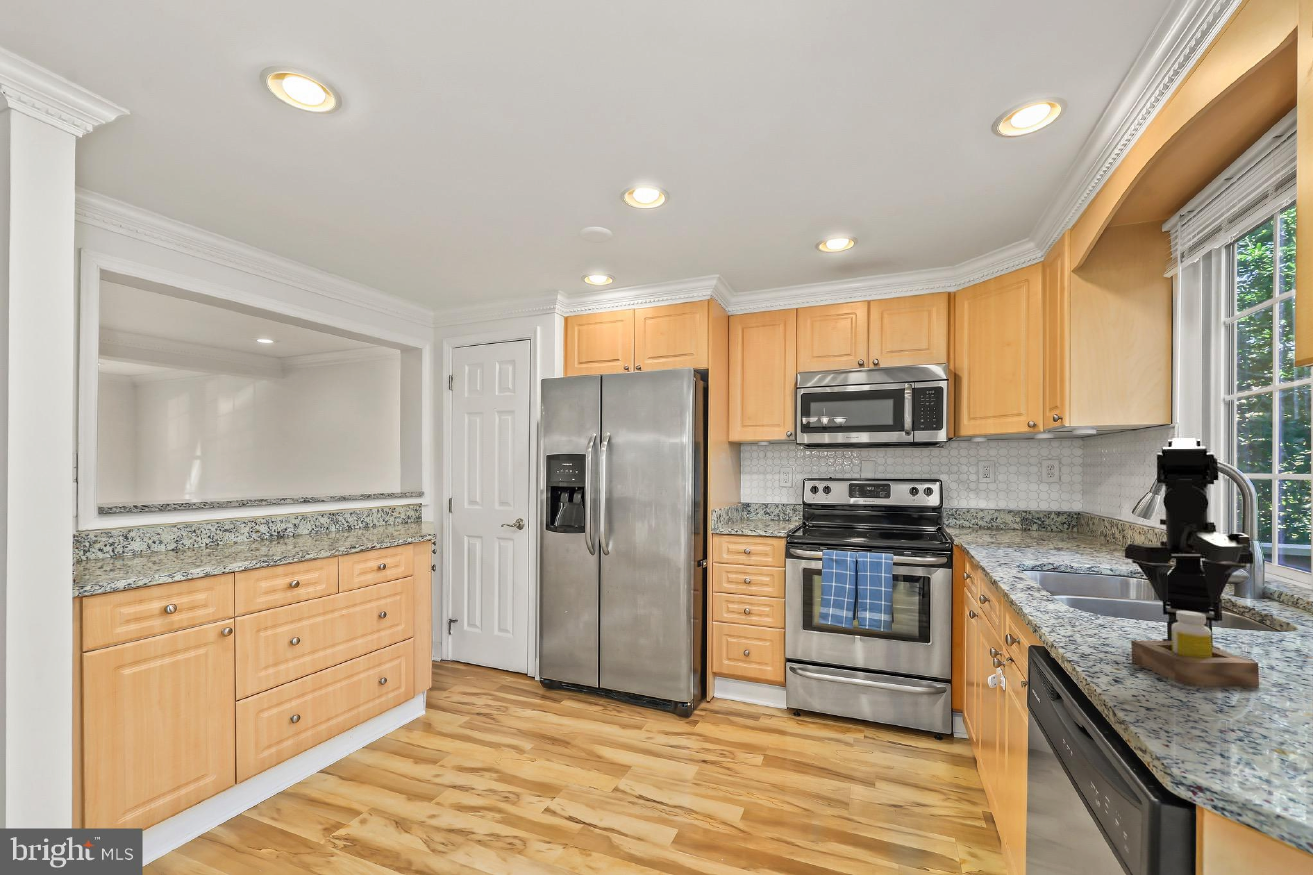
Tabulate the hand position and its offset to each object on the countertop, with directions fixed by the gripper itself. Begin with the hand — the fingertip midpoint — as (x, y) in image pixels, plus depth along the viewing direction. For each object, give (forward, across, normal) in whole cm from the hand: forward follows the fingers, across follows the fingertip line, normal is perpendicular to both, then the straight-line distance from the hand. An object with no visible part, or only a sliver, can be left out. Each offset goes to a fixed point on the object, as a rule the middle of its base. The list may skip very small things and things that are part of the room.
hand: (1188, 601), depth 106 cm
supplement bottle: (+12, 0, 0) cm, 12 cm away
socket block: (+13, 0, 0) cm, 13 cm away
